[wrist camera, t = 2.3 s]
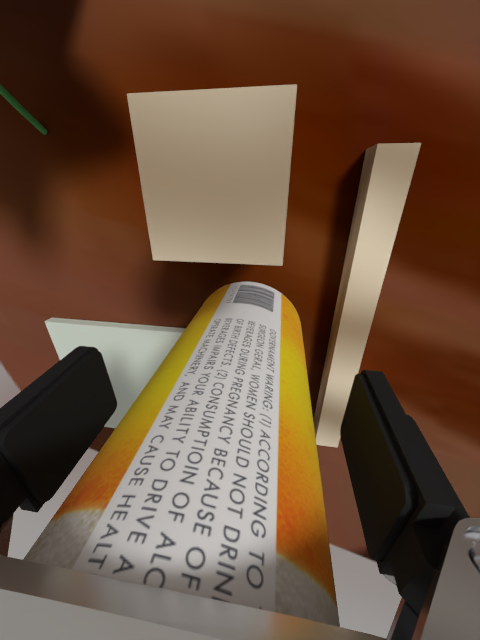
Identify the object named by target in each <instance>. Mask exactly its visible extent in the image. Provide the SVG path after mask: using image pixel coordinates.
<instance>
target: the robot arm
mask: <svg viewBox="0 0 480 640" xmlns="http://www.w3.org/2000/svg"><path fill="white" fill-rule="evenodd" d="M116 408H117V400H116V397H115V394H114V390H113V387H112V384H111V381H110V378H109V375H108V372H107V369H106V366H105V362H104V359H103V356H102V354H101V352H99V351H98V349H97V348H95V347H88V346H78V347H76V348H75V349H74V350H73V351H71V352H70V353H69V354H68V355H66V356H65V357H64V358H63V359H61V360H60V361H59V362H58V363H56V364H55V365H54V366H53V367H51V368H50V369H49V370H48V371H46V372H45V373H44V374H43V375H41V376H40V377H39V378H38V379H36V380H35V381H34V382H33V383H31V384H30V385H29V386H28V387H26V388H25V389H24V390H23V391H21V392H20V393H19V394H18V395H17V396H15V397H14V398H13V399H11V400H10V401H9V402H8V403H6V404H5V405H4V406H3V407H2V408H0V640H480V519H478V518H470V517H469V516H468V514H467V512H466V510H465V509H464V507H463V505H462V503H461V501H460V500H459V498H458V496H457V494H456V493H455V491H454V489H453V487H452V486H451V484H450V482H449V480H448V479H447V477H446V475H445V473H444V472H443V470H442V468H441V466H440V465H439V463H438V461H437V459H436V458H435V456H434V454H433V452H432V451H431V449H430V447H429V445H428V443H427V442H426V440H425V438H424V436H423V435H422V433H421V431H420V429H419V428H418V426H417V424H416V422H415V421H414V420H413V418H412V417H410V416H409V415H406V414H405V412H404V410H403V408H402V407H401V405H400V403H399V401H398V399H397V397H396V396H395V394H394V392H393V390H392V388H391V386H390V385H389V383H388V381H387V379H386V377H385V375H384V374H383V373H382V372H380V371H368V370H363V371H362V372H361V374H356V375H355V378H354V381H353V385H352V388H351V392H350V395H349V399H348V403H347V406H346V410H345V413H344V417H343V420H342V424H341V428H340V436H341V441H342V445H343V449H344V453H345V457H346V462H347V466H348V470H349V474H350V478H351V483H352V487H353V491H354V495H355V499H356V503H357V508H358V512H359V516H360V520H361V524H362V528H363V533H364V537H365V541H366V545H367V549H368V552H369V555H370V557H371V558H372V559H376V560H377V564H378V568H379V572H380V574H383V575H384V576H385V577H386V578H387V579H388V580H389V581H391V582H392V583H393V584H395V585H396V586H397V588H398V592H399V594H400V595H401V596H402V599H401V601H400V604H399V607H398V610H397V612H396V615H395V618H394V620H393V623H392V625H391V628H390V631H389V633H388V636H387V638H386V639H385V638H381V637H378V636H375V635H371V634H367V633H362V632H358V631H354V630H349V629H345V628H341V627H337V626H333V625H328V624H324V623H320V622H316V621H311V620H307V619H303V618H299V617H294V616H290V615H285V614H280V613H276V612H271V611H266V610H261V609H257V608H252V607H247V606H243V605H238V604H233V603H228V602H224V601H219V600H214V599H210V598H205V597H200V596H195V595H191V594H186V593H181V592H176V591H172V590H167V589H162V588H157V587H152V586H148V585H143V584H138V583H133V582H128V581H123V580H119V579H114V578H109V577H104V576H99V575H94V574H89V573H85V572H80V571H75V570H70V569H65V568H60V567H55V566H50V565H45V564H40V563H35V562H30V561H25V560H20V559H15V558H10V557H7V555H8V548H9V542H10V535H11V527H12V520H13V513H14V512H15V511H16V509H17V508H18V507H19V506H20V507H21V509H22V510H28V511H33V512H38V511H39V510H40V508H41V507H42V506H43V504H44V503H45V502H46V501H48V500H50V499H51V498H52V497H53V496H54V494H55V493H56V491H57V490H58V489H59V487H60V486H61V485H62V483H63V482H64V480H65V479H66V478H67V476H68V475H69V474H70V472H71V471H72V470H73V468H74V467H75V465H76V464H77V463H78V461H79V460H80V458H81V457H82V456H83V454H84V453H85V452H86V450H87V449H88V448H89V446H90V445H91V443H92V442H93V441H94V439H95V438H96V437H97V435H98V434H99V432H100V431H101V430H102V428H103V427H104V426H105V424H106V423H107V421H108V420H109V419H110V417H111V416H112V415H113V413H114V412H115V410H116Z"/></svg>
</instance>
